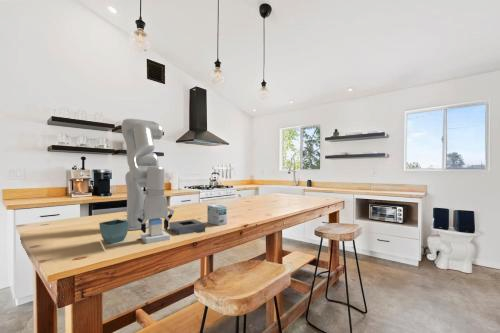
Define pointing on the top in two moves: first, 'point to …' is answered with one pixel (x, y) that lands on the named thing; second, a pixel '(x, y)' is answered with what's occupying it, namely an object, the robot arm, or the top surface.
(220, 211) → the light bulb box
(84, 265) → the top surface
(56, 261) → the top surface
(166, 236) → the grey base plate
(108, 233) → the flower pot
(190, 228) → the port block
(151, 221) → the plug
